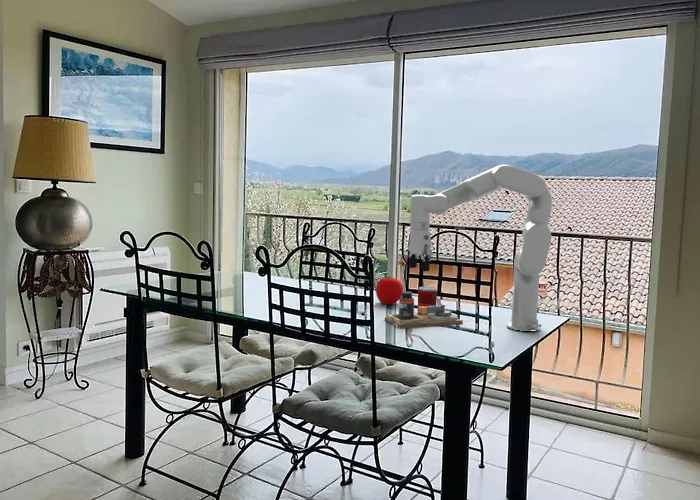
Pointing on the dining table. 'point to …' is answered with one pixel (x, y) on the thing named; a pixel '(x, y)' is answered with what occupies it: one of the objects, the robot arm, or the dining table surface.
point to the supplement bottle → (406, 306)
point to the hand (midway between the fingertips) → (419, 269)
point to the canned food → (427, 296)
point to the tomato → (389, 290)
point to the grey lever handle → (435, 310)
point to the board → (423, 320)
